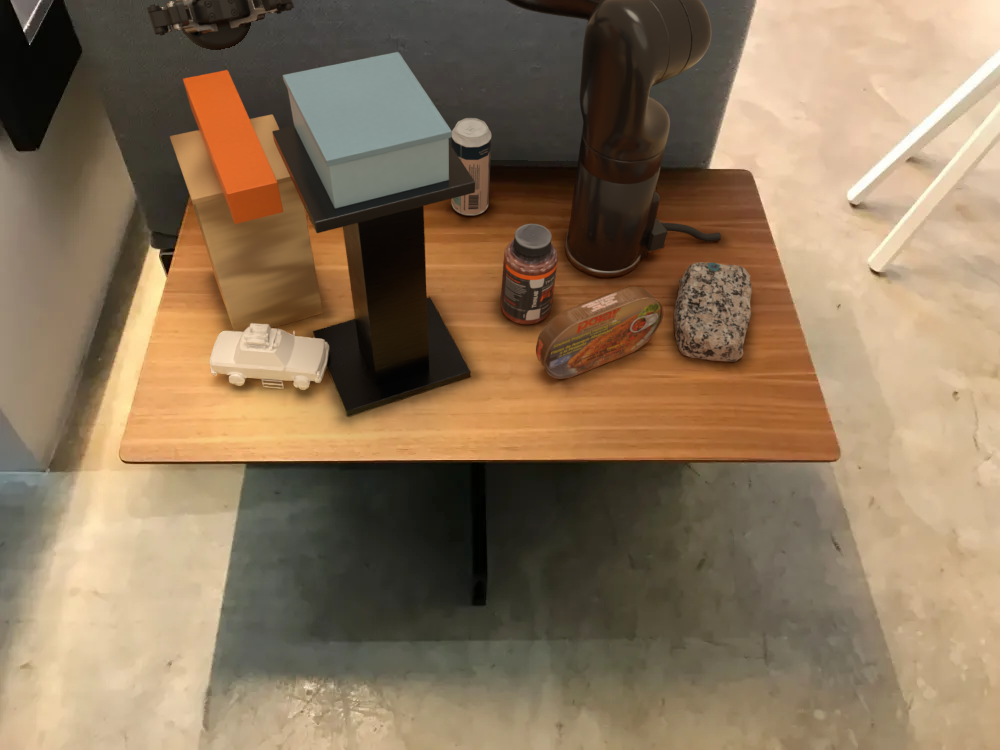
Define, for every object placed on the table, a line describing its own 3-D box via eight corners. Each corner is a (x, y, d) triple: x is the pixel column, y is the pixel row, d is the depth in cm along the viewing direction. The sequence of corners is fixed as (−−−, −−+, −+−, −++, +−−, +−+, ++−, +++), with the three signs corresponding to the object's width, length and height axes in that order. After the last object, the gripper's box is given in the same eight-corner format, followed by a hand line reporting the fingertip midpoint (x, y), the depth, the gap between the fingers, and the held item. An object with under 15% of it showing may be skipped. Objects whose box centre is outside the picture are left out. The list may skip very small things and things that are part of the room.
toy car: (323, 397, 91) (315, 356, 85) (211, 388, 91) (196, 347, 85) (333, 354, 94) (326, 312, 89) (225, 346, 94) (212, 303, 89)
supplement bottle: (546, 331, 98) (555, 259, 89) (495, 322, 98) (500, 249, 89) (554, 294, 101) (564, 222, 93) (505, 285, 102) (510, 212, 93)
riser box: (299, 255, 104) (272, 113, 88) (325, 314, 98) (301, 173, 82) (213, 278, 101) (169, 135, 85) (234, 340, 95) (191, 199, 79)
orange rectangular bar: (234, 99, 89) (227, 69, 87) (283, 212, 79) (277, 182, 76) (191, 108, 88) (182, 78, 85) (234, 224, 78) (226, 194, 75)
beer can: (495, 203, 111) (499, 125, 102) (475, 223, 109) (477, 144, 99) (464, 189, 113) (466, 110, 103) (444, 208, 110) (443, 130, 101)
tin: (542, 389, 93) (549, 338, 86) (528, 368, 94) (534, 317, 88) (657, 344, 97) (672, 292, 91) (642, 325, 99) (655, 273, 92)
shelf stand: (427, 296, 100) (420, 98, 79) (470, 377, 93) (475, 181, 72) (311, 330, 96) (271, 130, 75) (347, 417, 89) (314, 222, 68)
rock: (672, 280, 104) (679, 253, 100) (744, 289, 103) (754, 262, 100) (671, 359, 96) (679, 332, 93) (748, 369, 96) (760, 343, 92)
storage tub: (401, 100, 79) (398, 51, 75) (452, 181, 72) (452, 131, 68) (291, 125, 76) (282, 74, 72) (333, 211, 69) (326, 160, 65)
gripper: (136, -11, 93) (138, -26, 79) (265, -33, 97) (289, -51, 83) (159, 61, 96) (165, 59, 82) (283, 37, 100) (309, 31, 86)
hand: (227, 4), depth 82 cm, fingers open, 8 cm apart
